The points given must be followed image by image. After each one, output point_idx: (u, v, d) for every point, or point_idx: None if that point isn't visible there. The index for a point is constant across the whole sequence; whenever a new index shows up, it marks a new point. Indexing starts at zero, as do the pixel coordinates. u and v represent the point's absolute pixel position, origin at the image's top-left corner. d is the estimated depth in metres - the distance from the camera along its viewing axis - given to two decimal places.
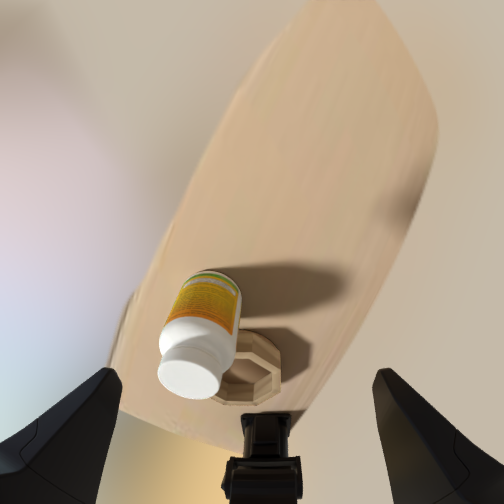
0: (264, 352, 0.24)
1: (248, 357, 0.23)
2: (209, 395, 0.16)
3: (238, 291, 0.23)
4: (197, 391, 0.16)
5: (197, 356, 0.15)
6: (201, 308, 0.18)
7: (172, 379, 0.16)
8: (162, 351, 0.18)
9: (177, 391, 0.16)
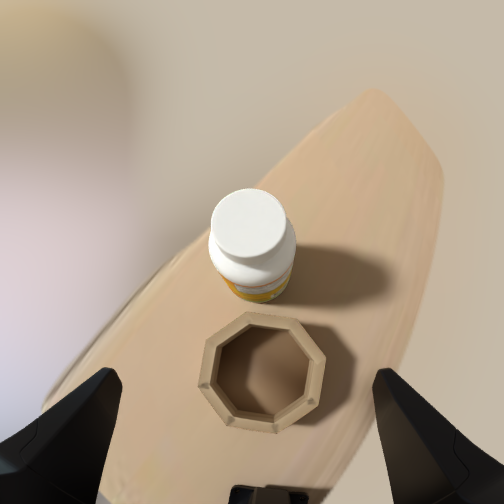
0: None
1: (290, 327, 0.19)
2: (266, 247, 0.14)
3: None
4: (252, 239, 0.14)
5: None
6: None
7: (230, 216, 0.15)
8: None
9: (225, 238, 0.14)
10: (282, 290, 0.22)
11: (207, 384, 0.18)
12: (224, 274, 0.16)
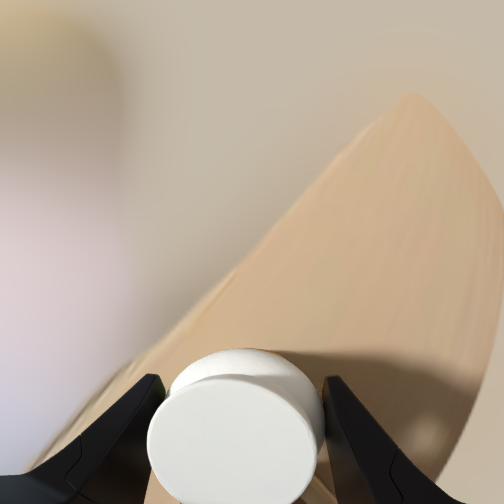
0: (323, 492, 0.10)
1: None
2: None
3: None
4: (237, 496, 0.05)
5: (279, 390, 0.06)
6: None
7: (186, 445, 0.05)
8: None
9: (180, 487, 0.05)
10: None
11: None
12: None
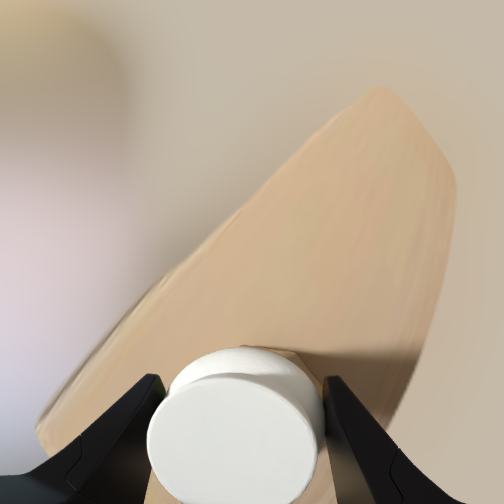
0: None
1: None
2: None
3: None
4: (238, 495, 0.05)
5: (279, 389, 0.06)
6: None
7: (186, 444, 0.05)
8: None
9: (180, 486, 0.05)
10: None
11: None
12: None
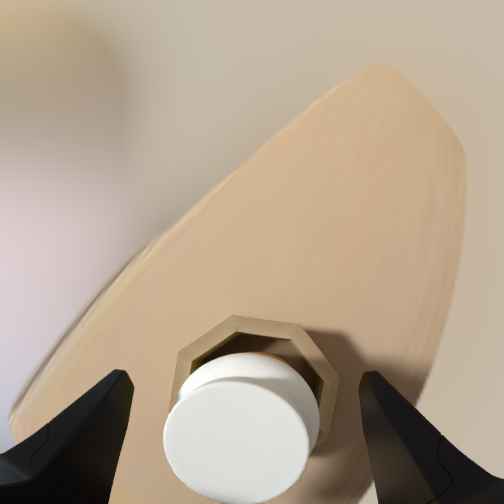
0: None
1: (292, 336, 0.14)
2: (268, 495, 0.05)
3: None
4: (242, 482, 0.06)
5: (277, 390, 0.07)
6: (271, 356, 0.11)
7: (198, 438, 0.06)
8: None
9: (192, 475, 0.06)
10: None
11: None
12: None
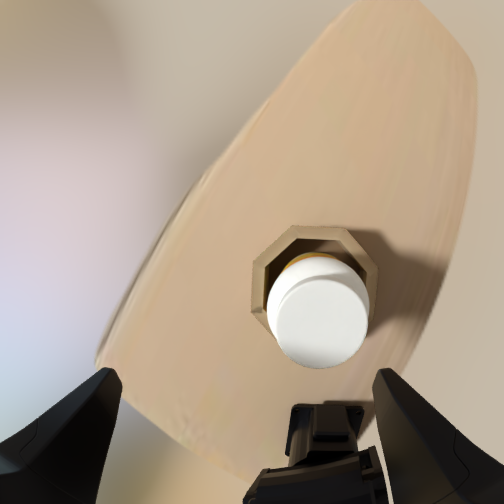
0: None
1: (340, 238, 0.18)
2: (344, 357, 0.11)
3: None
4: (328, 350, 0.11)
5: (344, 282, 0.11)
6: (330, 257, 0.15)
7: (298, 323, 0.11)
8: (274, 303, 0.14)
9: (296, 351, 0.11)
10: None
11: (260, 308, 0.19)
12: None
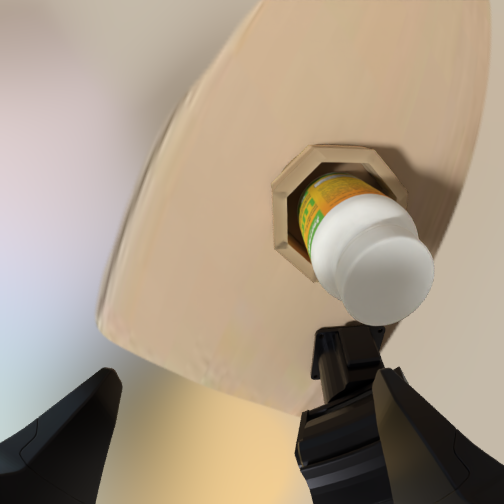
0: None
1: (369, 161, 0.14)
2: (409, 311, 0.10)
3: None
4: (395, 307, 0.10)
5: (412, 234, 0.09)
6: (374, 190, 0.12)
7: (369, 284, 0.10)
8: (325, 254, 0.12)
9: (364, 313, 0.10)
10: None
11: (285, 243, 0.17)
12: (339, 299, 0.13)
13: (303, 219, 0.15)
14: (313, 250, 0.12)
